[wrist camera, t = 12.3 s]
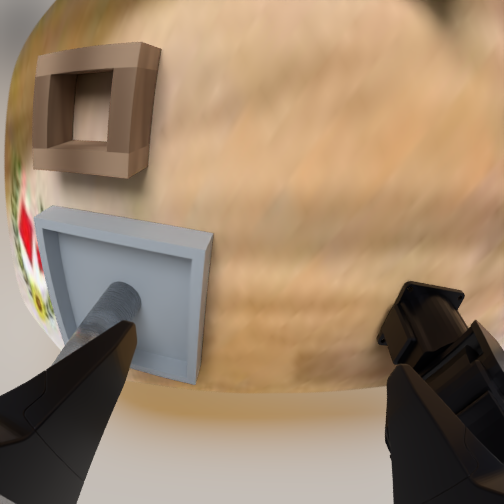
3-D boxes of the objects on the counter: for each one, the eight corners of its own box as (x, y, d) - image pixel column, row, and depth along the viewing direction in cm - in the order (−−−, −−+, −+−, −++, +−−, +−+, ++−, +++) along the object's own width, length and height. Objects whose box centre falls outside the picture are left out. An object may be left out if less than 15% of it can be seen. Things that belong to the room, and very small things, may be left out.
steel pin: (128, 273, 22) (43, 398, 11) (152, 310, 24) (90, 439, 13) (97, 284, 23) (16, 395, 12) (120, 318, 25) (56, 432, 14)
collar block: (161, 48, 15) (141, 41, 12) (147, 166, 19) (127, 178, 16) (64, 57, 15) (38, 56, 12) (58, 158, 19) (33, 169, 16)
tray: (213, 233, 21) (205, 250, 18) (200, 365, 27) (195, 385, 25) (52, 205, 21) (33, 217, 18) (75, 329, 27) (65, 345, 25)
